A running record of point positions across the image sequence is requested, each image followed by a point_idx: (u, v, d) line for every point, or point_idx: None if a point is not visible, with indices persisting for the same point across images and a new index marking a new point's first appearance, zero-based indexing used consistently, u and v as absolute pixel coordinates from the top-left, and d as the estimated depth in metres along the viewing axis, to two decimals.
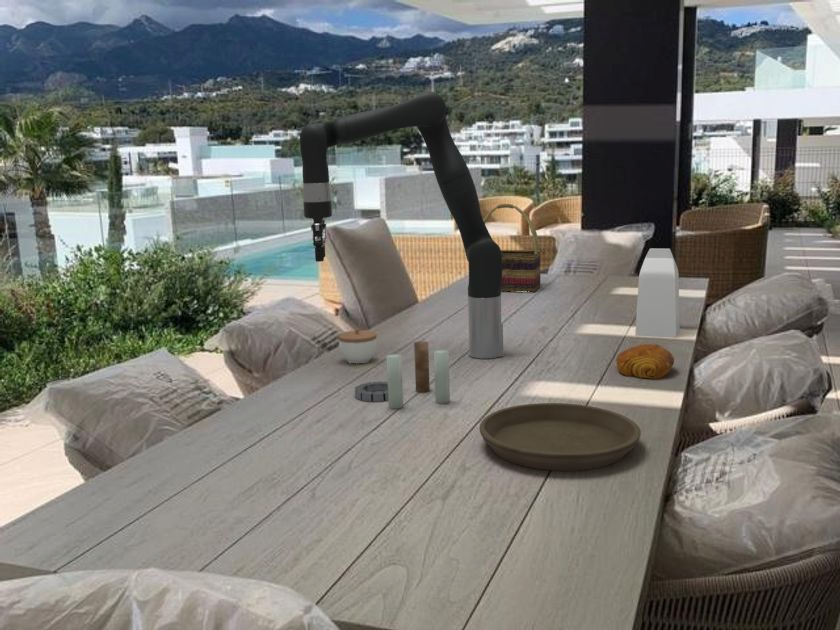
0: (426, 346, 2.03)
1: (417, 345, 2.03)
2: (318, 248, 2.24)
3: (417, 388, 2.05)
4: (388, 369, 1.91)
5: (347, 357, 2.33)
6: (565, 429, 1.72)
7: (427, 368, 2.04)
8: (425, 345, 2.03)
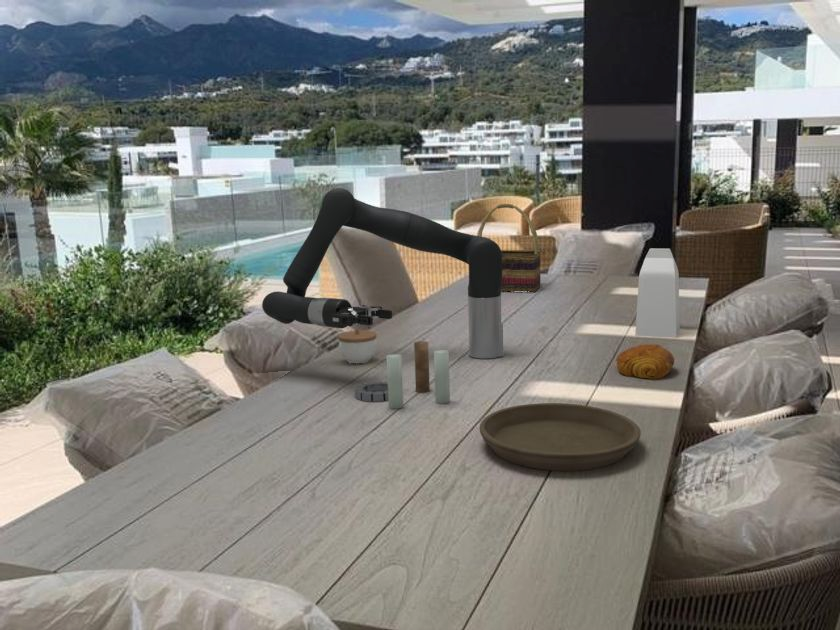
0: (426, 346, 2.03)
1: (417, 345, 2.03)
2: (357, 320, 2.06)
3: (417, 388, 2.05)
4: (388, 369, 1.91)
5: (347, 357, 2.33)
6: (565, 429, 1.72)
7: (427, 368, 2.04)
8: (425, 345, 2.03)
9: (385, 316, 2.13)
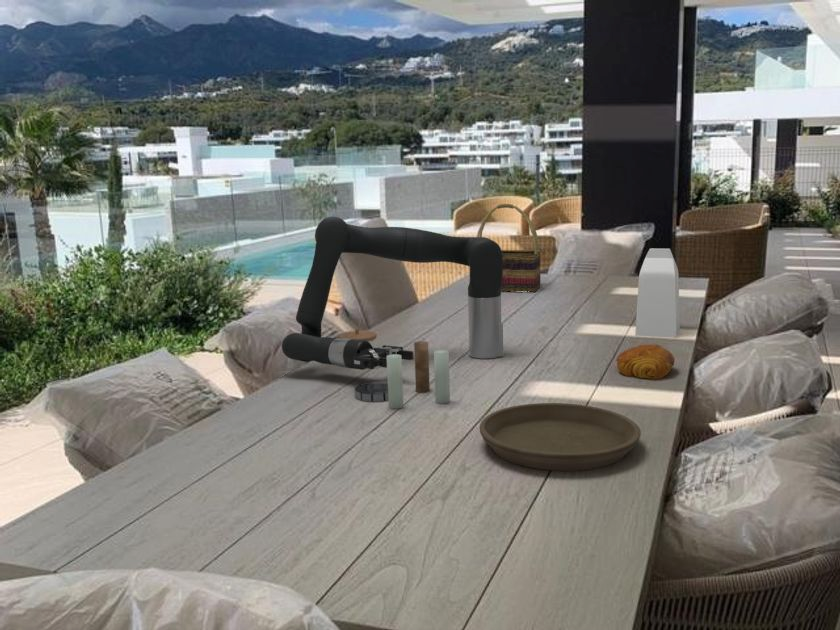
0: (426, 346, 2.03)
1: (417, 345, 2.03)
2: (379, 363, 2.05)
3: (417, 388, 2.05)
4: (388, 369, 1.91)
5: None
6: (565, 429, 1.72)
7: (427, 368, 2.04)
8: (425, 345, 2.03)
9: (406, 357, 2.12)
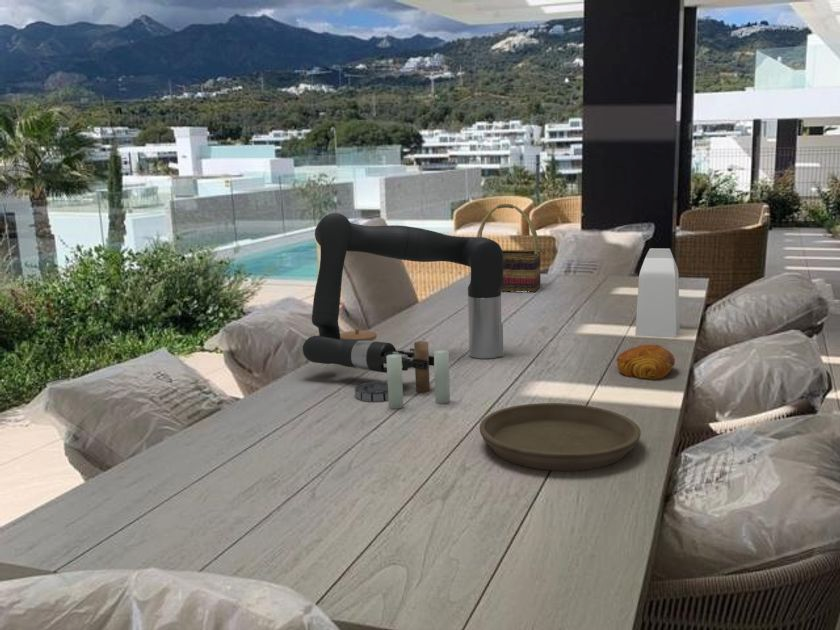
0: (426, 346, 2.03)
1: (417, 345, 2.03)
2: (412, 364, 2.03)
3: (417, 388, 2.05)
4: (388, 369, 1.91)
5: None
6: (565, 429, 1.72)
7: None
8: (425, 345, 2.03)
9: (430, 363, 2.06)
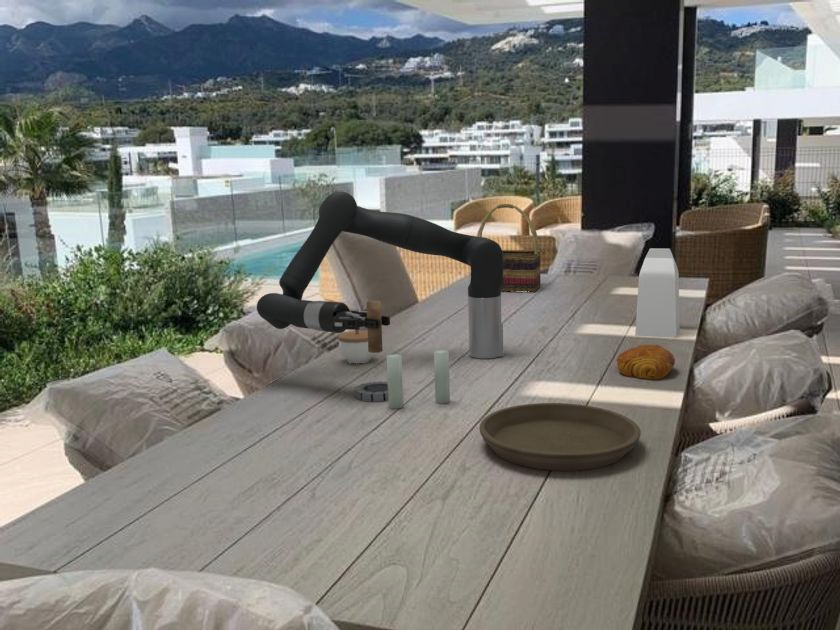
0: (378, 305, 1.98)
1: (369, 304, 1.98)
2: (364, 324, 1.98)
3: (369, 348, 2.00)
4: (388, 369, 1.91)
5: (347, 357, 2.33)
6: (565, 429, 1.72)
7: (379, 328, 1.99)
8: (377, 304, 1.98)
9: (382, 322, 2.01)
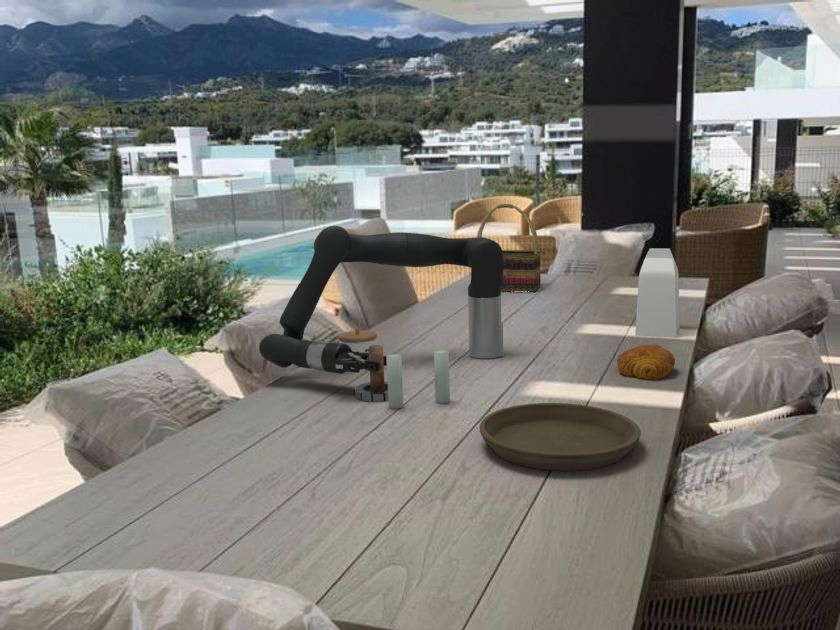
0: (381, 350, 2.00)
1: (371, 349, 2.00)
2: (364, 366, 1.99)
3: None
4: (388, 369, 1.91)
5: None
6: (565, 429, 1.72)
7: (382, 372, 2.02)
8: (379, 349, 2.00)
9: (385, 363, 2.04)
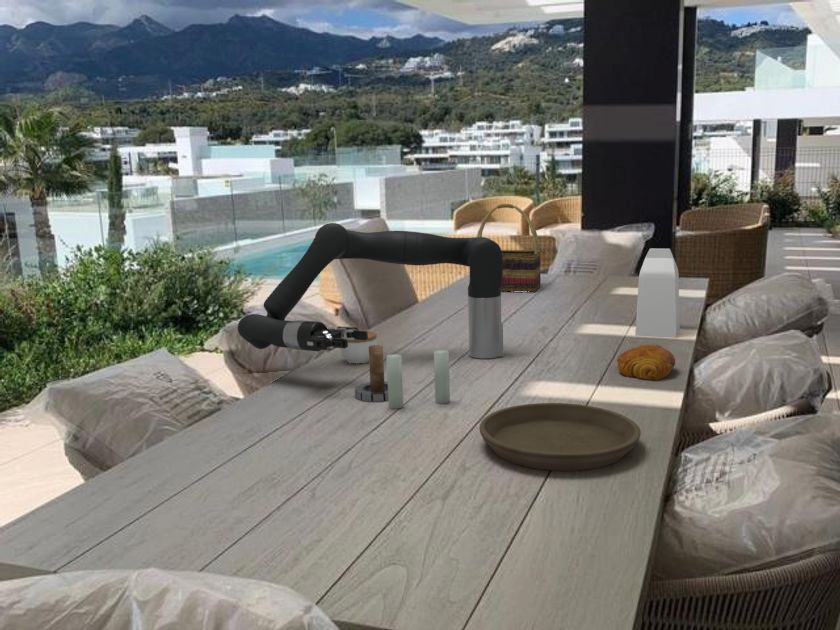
0: (380, 350, 2.00)
1: (371, 349, 2.00)
2: (332, 344, 2.03)
3: None
4: (388, 369, 1.91)
5: (347, 357, 2.33)
6: (565, 429, 1.72)
7: (382, 372, 2.02)
8: (379, 349, 2.00)
9: (361, 337, 2.10)
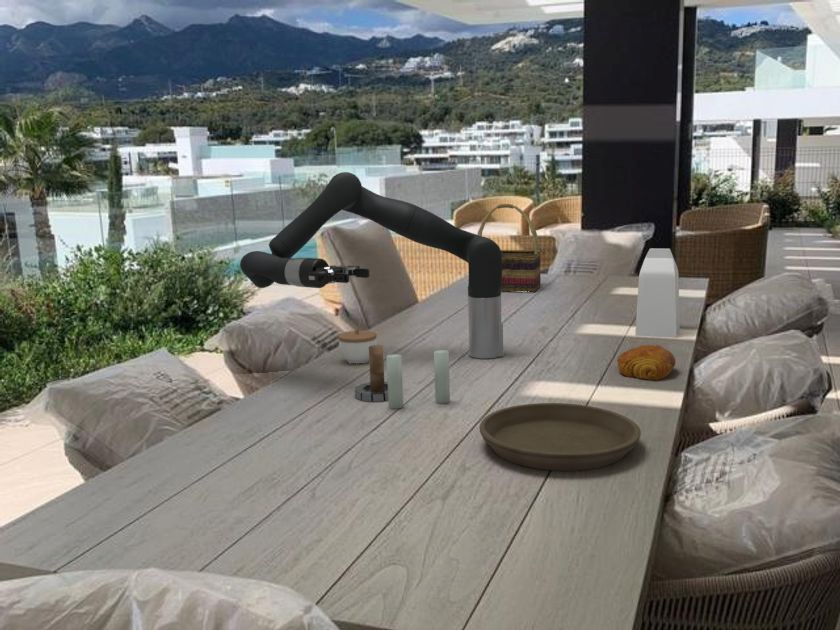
0: (380, 350, 2.00)
1: (371, 349, 2.00)
2: (333, 278, 2.04)
3: None
4: (388, 369, 1.91)
5: (347, 357, 2.33)
6: (565, 429, 1.72)
7: (382, 372, 2.02)
8: (379, 349, 2.00)
9: (362, 275, 2.11)
